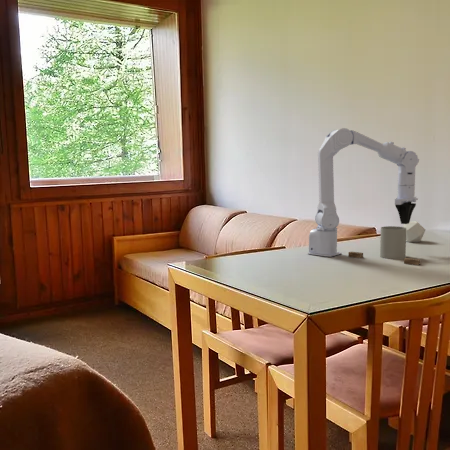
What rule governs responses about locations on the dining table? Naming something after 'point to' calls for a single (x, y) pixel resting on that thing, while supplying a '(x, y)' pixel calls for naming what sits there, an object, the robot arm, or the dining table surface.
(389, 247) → the grey cylinder
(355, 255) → the pair of brown blocks
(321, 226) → the robot arm
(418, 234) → the die
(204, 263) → the dining table surface
